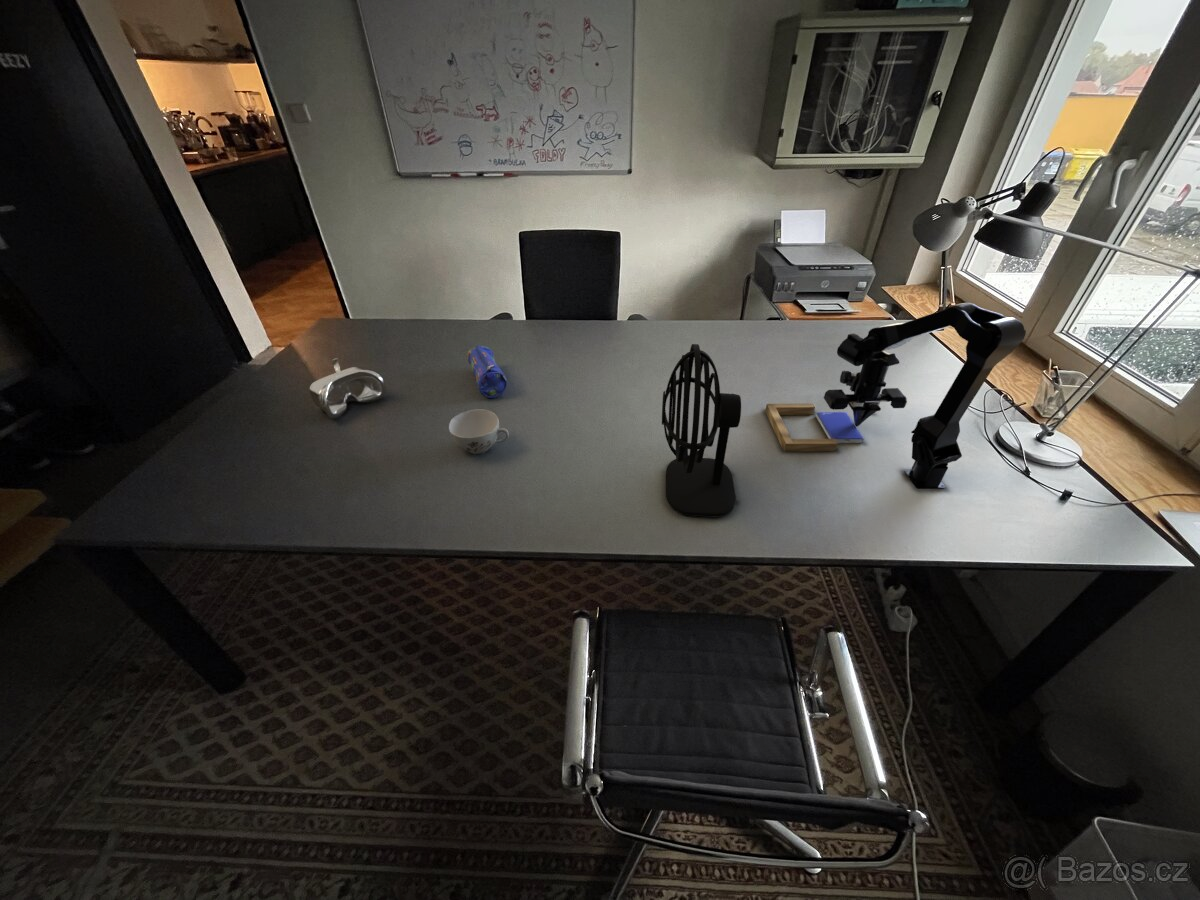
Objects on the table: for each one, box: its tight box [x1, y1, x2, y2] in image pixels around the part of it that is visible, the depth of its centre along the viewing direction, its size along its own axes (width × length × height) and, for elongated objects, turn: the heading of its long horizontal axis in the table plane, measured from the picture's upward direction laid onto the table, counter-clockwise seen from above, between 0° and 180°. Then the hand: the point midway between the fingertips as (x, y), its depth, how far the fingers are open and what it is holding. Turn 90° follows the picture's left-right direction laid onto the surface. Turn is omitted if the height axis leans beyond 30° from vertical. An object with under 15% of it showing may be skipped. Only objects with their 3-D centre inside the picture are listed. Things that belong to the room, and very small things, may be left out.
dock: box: [764, 402, 839, 453], centre depth 135 cm, size 19×13×2 cm
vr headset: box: [309, 357, 387, 419], centre depth 145 cm, size 18×11×14 cm, turn 139°
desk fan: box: [661, 343, 742, 518], centre depth 107 cm, size 27×18×35 cm, turn 174°
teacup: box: [448, 408, 510, 455], centre depth 129 cm, size 15×12×8 cm
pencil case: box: [466, 345, 508, 399], centre depth 156 cm, size 22×9×10 cm, turn 22°
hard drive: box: [815, 411, 865, 444], centre depth 135 cm, size 2×8×12 cm
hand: (856, 425), depth 135 cm, fingers closed
